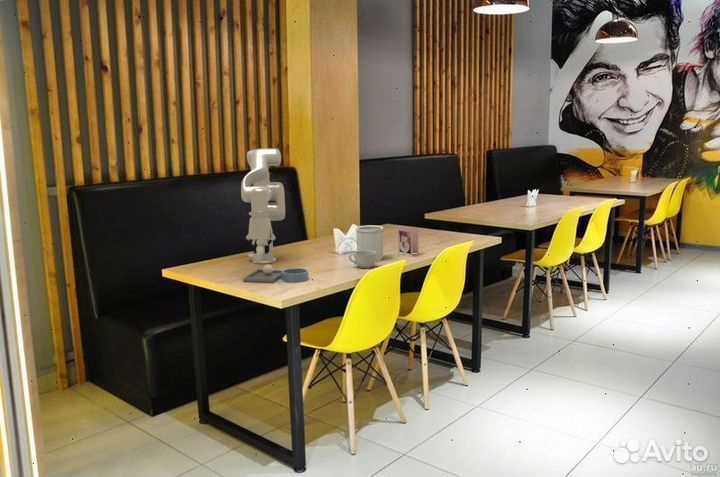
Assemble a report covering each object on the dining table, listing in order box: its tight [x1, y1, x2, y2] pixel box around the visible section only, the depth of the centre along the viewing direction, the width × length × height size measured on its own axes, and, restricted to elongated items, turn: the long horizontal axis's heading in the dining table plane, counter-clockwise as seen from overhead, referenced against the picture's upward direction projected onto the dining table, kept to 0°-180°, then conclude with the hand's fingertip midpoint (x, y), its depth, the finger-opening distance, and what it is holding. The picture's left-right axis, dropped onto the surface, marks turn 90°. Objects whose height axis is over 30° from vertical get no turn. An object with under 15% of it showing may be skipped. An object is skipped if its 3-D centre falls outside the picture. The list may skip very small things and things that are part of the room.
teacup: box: [348, 250, 376, 269], centre depth 327 cm, size 14×11×8 cm
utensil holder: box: [355, 224, 385, 262], centre depth 345 cm, size 15×15×18 cm
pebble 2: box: [262, 264, 274, 275], centre depth 310 cm, size 5×5×5 cm
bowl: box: [281, 267, 309, 283], centre depth 303 cm, size 12×12×4 cm
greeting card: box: [397, 227, 419, 256], centre depth 357 cm, size 11×7×15 cm, turn 39°
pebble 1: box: [256, 244, 265, 254], centre depth 300 cm, size 5×5×5 cm
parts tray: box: [242, 268, 284, 284], centre depth 306 cm, size 15×18×2 cm
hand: (261, 252), depth 300 cm, fingers closed on pebble 1, 4 cm apart
